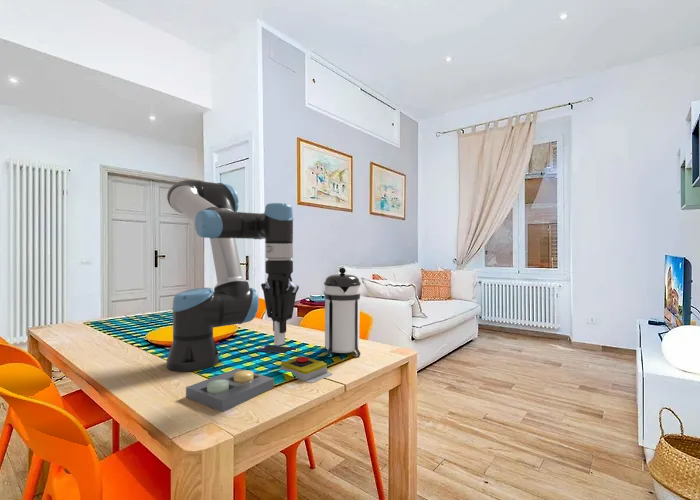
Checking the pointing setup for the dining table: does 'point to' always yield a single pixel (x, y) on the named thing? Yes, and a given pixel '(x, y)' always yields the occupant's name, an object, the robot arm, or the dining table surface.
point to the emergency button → (306, 369)
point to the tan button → (243, 376)
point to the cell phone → (275, 349)
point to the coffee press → (342, 313)
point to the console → (234, 394)
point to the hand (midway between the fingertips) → (279, 344)
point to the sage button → (217, 386)
